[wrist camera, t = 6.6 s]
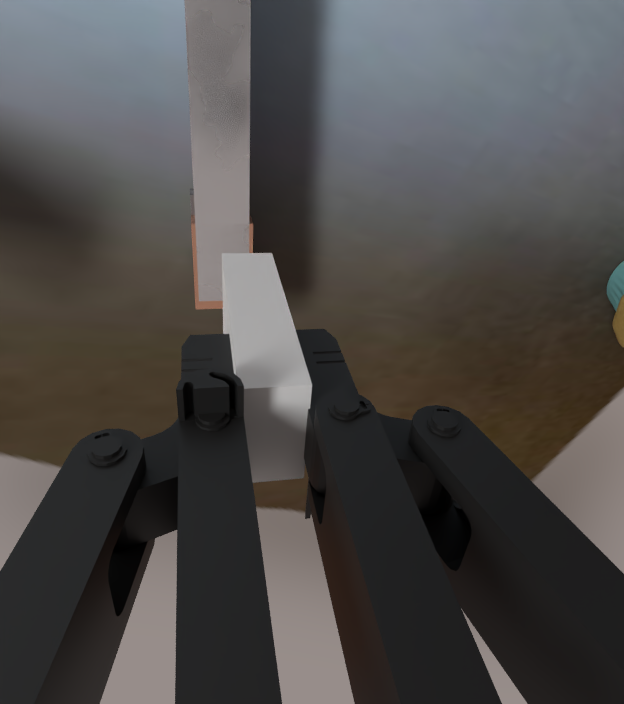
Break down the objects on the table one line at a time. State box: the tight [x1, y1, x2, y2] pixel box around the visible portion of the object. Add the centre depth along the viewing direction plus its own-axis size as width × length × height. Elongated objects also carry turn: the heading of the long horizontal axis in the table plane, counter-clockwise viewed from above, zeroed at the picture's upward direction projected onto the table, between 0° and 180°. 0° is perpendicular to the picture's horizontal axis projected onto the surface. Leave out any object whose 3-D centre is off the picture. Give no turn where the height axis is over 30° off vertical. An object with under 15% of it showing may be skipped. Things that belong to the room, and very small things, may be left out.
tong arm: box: [185, 0, 253, 309], centre depth 25 cm, size 3×27×2 cm, turn 176°
